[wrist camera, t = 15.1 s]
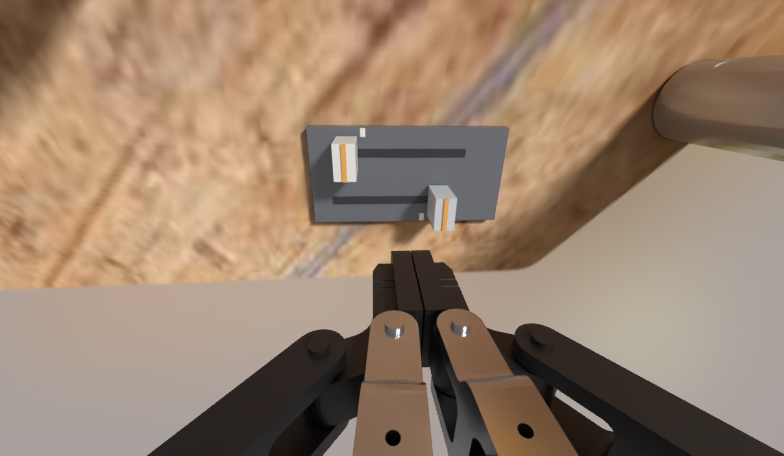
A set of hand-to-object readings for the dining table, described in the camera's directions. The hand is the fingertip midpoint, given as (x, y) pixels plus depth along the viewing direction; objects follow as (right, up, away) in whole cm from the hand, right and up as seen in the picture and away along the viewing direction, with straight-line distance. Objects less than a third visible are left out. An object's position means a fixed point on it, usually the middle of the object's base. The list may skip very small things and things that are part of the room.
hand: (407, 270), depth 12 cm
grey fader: (+5, +5, +28) cm, 29 cm away
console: (+1, +9, +28) cm, 29 cm away
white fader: (-6, +11, +25) cm, 28 cm away
